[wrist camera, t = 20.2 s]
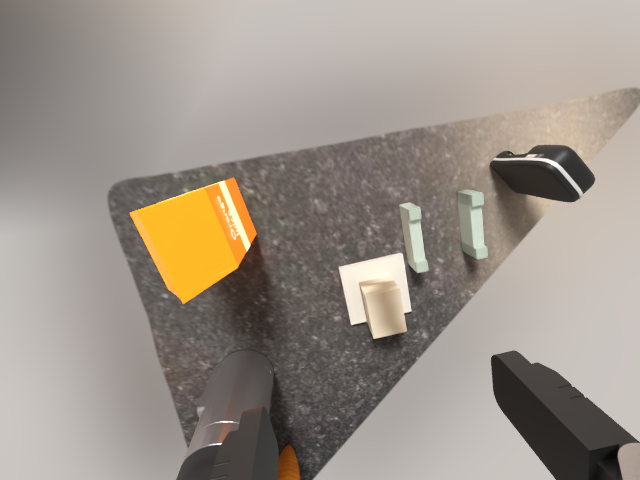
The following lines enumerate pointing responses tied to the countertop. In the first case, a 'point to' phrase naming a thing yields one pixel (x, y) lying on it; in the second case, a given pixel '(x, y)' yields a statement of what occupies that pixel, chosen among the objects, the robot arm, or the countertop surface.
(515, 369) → the robot arm
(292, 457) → the carrot
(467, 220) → the rails
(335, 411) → the countertop surface
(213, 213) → the orange juice
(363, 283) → the block
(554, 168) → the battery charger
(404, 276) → the plate
